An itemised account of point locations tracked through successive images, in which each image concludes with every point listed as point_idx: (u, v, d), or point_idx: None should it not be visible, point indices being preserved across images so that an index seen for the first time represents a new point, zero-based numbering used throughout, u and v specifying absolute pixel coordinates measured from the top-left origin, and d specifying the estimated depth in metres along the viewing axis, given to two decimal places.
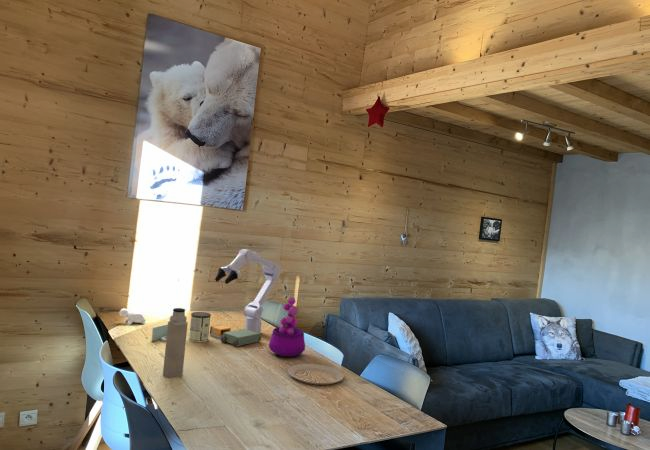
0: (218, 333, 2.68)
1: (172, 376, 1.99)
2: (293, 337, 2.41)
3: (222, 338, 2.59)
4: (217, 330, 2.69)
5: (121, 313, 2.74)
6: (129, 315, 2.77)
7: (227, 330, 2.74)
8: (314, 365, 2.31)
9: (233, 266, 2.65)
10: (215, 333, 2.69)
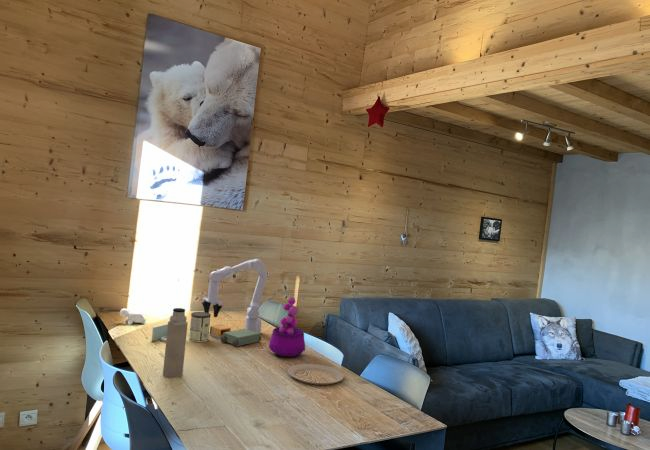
0: (218, 333, 2.68)
1: (172, 376, 1.99)
2: (293, 337, 2.41)
3: (222, 338, 2.59)
4: (217, 330, 2.69)
5: (121, 313, 2.74)
6: (130, 314, 2.77)
7: (227, 330, 2.74)
8: (314, 365, 2.31)
9: (212, 298, 2.75)
10: (215, 333, 2.69)
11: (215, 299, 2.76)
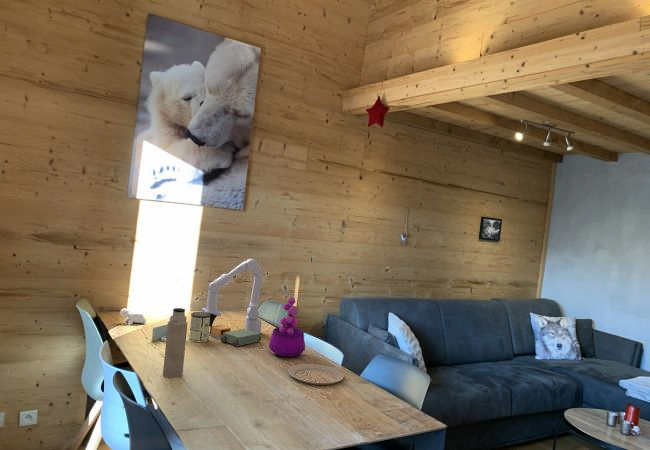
0: (218, 333, 2.68)
1: (172, 376, 1.99)
2: (293, 337, 2.41)
3: (222, 338, 2.59)
4: (217, 330, 2.69)
5: (122, 313, 2.74)
6: (130, 315, 2.77)
7: (227, 330, 2.74)
8: (314, 365, 2.31)
9: (211, 309, 2.75)
10: (215, 333, 2.69)
11: (214, 310, 2.76)
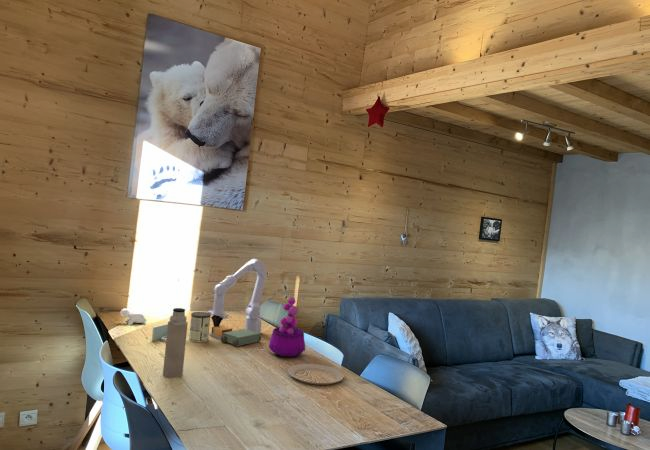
0: (220, 334, 2.67)
1: (172, 376, 1.99)
2: (293, 337, 2.41)
3: (222, 338, 2.59)
4: (219, 331, 2.68)
5: (122, 313, 2.74)
6: (130, 315, 2.77)
7: None
8: (314, 365, 2.31)
9: (217, 311, 2.72)
10: (217, 334, 2.69)
11: (220, 312, 2.73)
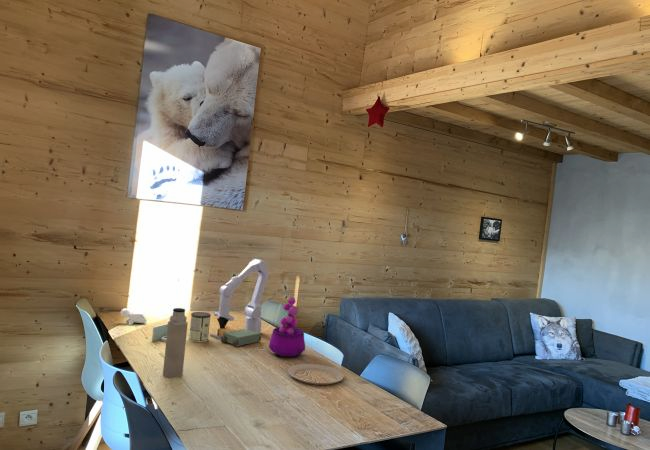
0: None
1: (172, 376, 1.99)
2: (293, 337, 2.41)
3: (222, 338, 2.59)
4: None
5: (122, 313, 2.74)
6: (131, 315, 2.77)
7: None
8: (314, 365, 2.31)
9: (223, 313, 2.69)
10: (222, 335, 2.66)
11: (226, 314, 2.70)
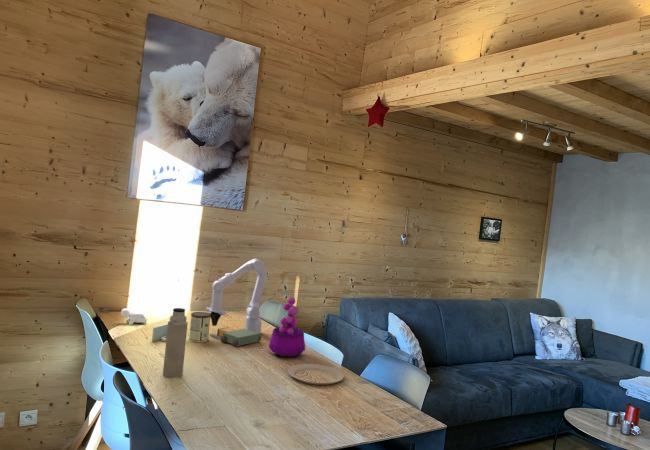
0: None
1: (172, 376, 1.99)
2: (293, 337, 2.41)
3: (222, 338, 2.59)
4: None
5: (123, 313, 2.75)
6: (131, 315, 2.77)
7: None
8: (314, 365, 2.31)
9: (215, 308, 2.73)
10: (222, 335, 2.66)
11: (218, 309, 2.74)
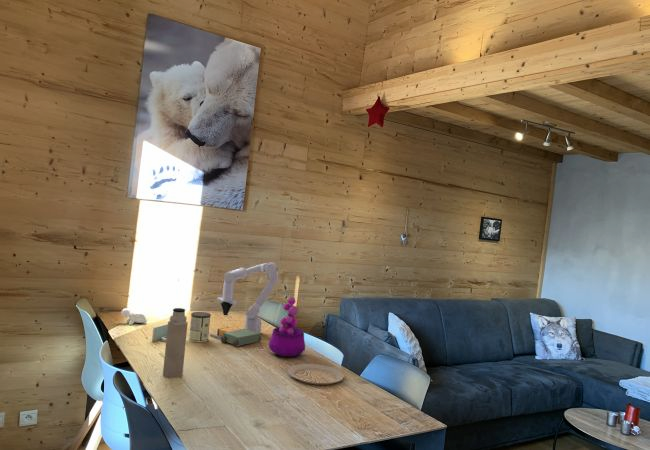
0: None
1: (172, 376, 1.99)
2: (293, 337, 2.41)
3: (222, 338, 2.59)
4: None
5: (123, 313, 2.75)
6: (131, 314, 2.77)
7: None
8: (314, 365, 2.31)
9: (226, 298, 2.81)
10: (222, 335, 2.66)
11: (230, 299, 2.82)
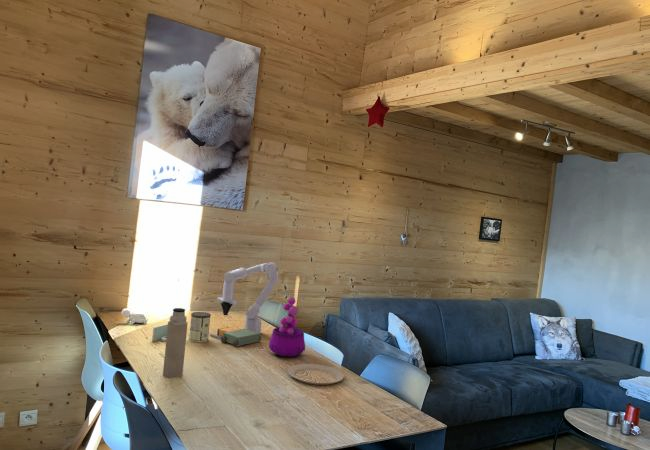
0: None
1: (172, 376, 1.99)
2: (293, 337, 2.41)
3: (222, 338, 2.59)
4: None
5: (123, 313, 2.75)
6: (131, 315, 2.77)
7: None
8: (314, 365, 2.31)
9: (226, 298, 2.81)
10: (222, 335, 2.66)
11: (230, 299, 2.82)
